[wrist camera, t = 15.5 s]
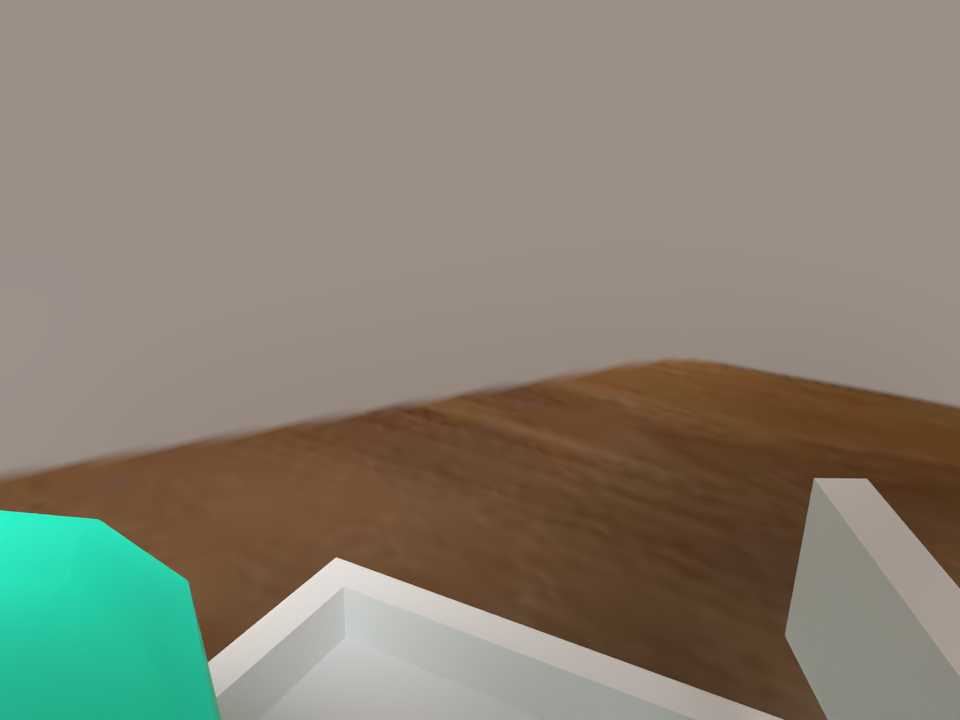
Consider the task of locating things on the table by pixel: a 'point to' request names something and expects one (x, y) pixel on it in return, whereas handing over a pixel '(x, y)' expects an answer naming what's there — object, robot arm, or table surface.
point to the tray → (430, 664)
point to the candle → (95, 627)
